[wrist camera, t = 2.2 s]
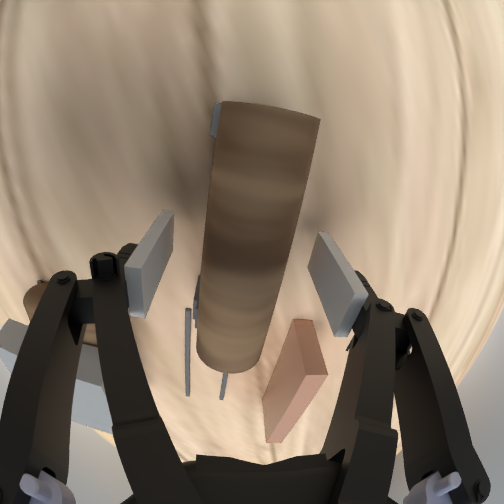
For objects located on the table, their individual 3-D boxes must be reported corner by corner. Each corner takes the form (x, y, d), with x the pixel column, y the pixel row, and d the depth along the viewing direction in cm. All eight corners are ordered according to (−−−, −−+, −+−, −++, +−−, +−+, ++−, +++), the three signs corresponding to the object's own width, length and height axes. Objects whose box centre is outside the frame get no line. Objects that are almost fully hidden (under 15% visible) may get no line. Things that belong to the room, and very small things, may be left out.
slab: (9, 318, 19) (-9, 342, 15) (114, 351, 21) (101, 386, 17) (43, 382, 25) (33, 404, 21) (134, 411, 26) (128, 438, 23)
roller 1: (38, 278, 23) (15, 306, 19) (72, 286, 24) (50, 317, 19) (71, 366, 31) (60, 392, 26) (100, 374, 31) (90, 403, 27)
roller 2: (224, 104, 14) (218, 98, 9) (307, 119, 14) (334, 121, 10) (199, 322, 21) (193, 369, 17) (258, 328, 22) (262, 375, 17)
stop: (293, 319, 26) (306, 375, 20) (311, 320, 27) (328, 374, 20) (262, 399, 34) (265, 443, 28) (276, 400, 34) (281, 442, 28)
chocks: (38, 279, 23) (37, 281, 23) (238, 314, 26) (238, 317, 25) (72, 367, 30) (71, 369, 30) (223, 397, 33) (223, 400, 33)
